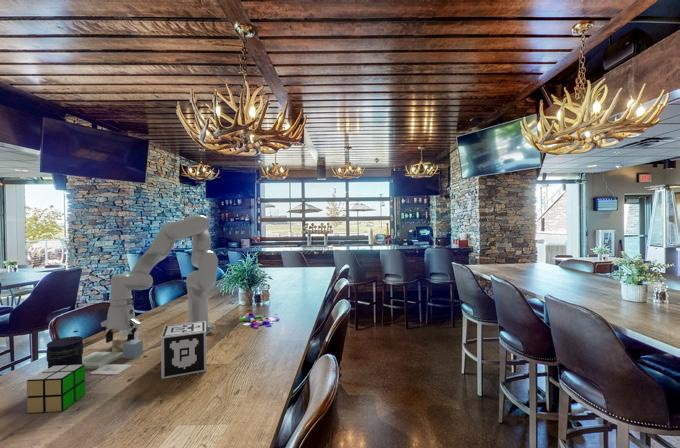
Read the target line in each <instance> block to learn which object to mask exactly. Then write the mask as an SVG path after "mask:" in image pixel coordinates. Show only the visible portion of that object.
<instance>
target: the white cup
mask: <svg viewBox="0 0 680 448" xmlns="http://www.w3.org/2000/svg"><path fill="white" fill-rule="evenodd" d="M135 320H136V321H137V322H139V323H140V320H139V319H138V318H135ZM134 327H135V326H134ZM139 328H140V326H139V327H138V330H137V331H136V332H135V333H134V340H139ZM130 330H131V329H130ZM118 331H119V337H120V336H128V334H129V333H128V332H127V330H118Z"/></svg>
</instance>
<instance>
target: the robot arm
mask: <svg viewBox="0 0 680 448" xmlns="http://www.w3.org/2000/svg"><path fill="white" fill-rule="evenodd" d="M209 227H210V220H209V218H207V216H205V215H200V214H196V215H195V214H193V215H188V216H186V217H185V218H184V219H182V220H179V221H169V222H165V223H164V224H163V225H162V226H161V227H160V230H159V231H158V233H157V235H156V236H155V237H154V240H153V241H152V243H151V244H150V245H149V247H148V249H147V250H146V251H145V252H144V253H143V254H142V256H140V258H139V259H138V260H137V261H136V263H135V264H134V266H133V268H132V269H131V271H130V272H129V273H118V274H113V275H112V276H111V278H110V306H109V307H108V310H107V315H106V319H105V320H103V321H101V322H100V325H101V327H102V330H103V332H104V334H105V343H106V344H108V343H112V340H114V331H113V330H118V331H119V330H127V332H128V333H129V334H128V337H127V342H128V341H130V340H134V333H135V332H136V331H137V330H138V331H139V329H138V327H139V328H140V326H141V322H140V321H139V322H137V321H136V320H135V319H136V314H135V308H134V300H132V291H133V290H134V291H143V290H147V289H149V288H151V287H152V285H153V284H154V280H153V279H154V278H153V276H152V275H151V274H150V273H151V271H152V270H153V268H154V267H155V266H156V265H157V264H158V263H160V262H161V261H163V260H164V259H166V258H167V257H168V255H169V254H170V252H171V251H172V248H174V245H175V243H176V242H177V241H178V240H179V241H180V240H183V239H187V238H190V237H192V247H191V249H192V251H191V258H190V263H191V265H192V266H193V267H195V268H197V269H198V270H193V271H191V272H189V274H188V275H187V277H186V281H185V283H186V284H185V285H186V286H185V287H186V291H187V315H188V316H187V323H191V322H199V321H206V335H207V334H209V333H211V332H212V331H214V330H216V327H217V326H216V324H211V321H209V294H208V292H210V291H211V290H213V289H214V287H215V285H216V282H217V275H218V267H219V259H218V255H217V254H216V253H215V252H214V251H212V250H211V243H212V239H211V233H210V232H209ZM134 326H135V327H134ZM130 329H131V330H130Z"/></svg>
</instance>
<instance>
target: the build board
mask: <svg viewBox="0 0 680 448" xmlns="http://www.w3.org/2000/svg"><path fill="white" fill-rule="evenodd" d="M121 357H123V352H112V351H94V352H91V353H90V354H88V355H85V356H82V363H83V365H85V370H86V369H87V370H88V369H89V370H91V369H92V370H97V369H98V368H100V367H102V366H104V365H106V364H111V363H112V362H114V361H116V360H118V359H119V358H121Z"/></svg>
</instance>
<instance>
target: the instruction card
mask: <svg viewBox="0 0 680 448" xmlns="http://www.w3.org/2000/svg"><path fill="white" fill-rule="evenodd" d="M131 367H133V364H117V363H116V364H114V363H113V364H111V363H109V364H106V365H104V366H102V367H100V368H98V369H94V370H93V371H91V372H90V373H89V375H94V376H95V375H97V376H98V375H100V376H101V375H102V376H103V375H104V376H119V375H120V374H122V373H123V372H124V371H127V370H128V369H130V368H131Z"/></svg>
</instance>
